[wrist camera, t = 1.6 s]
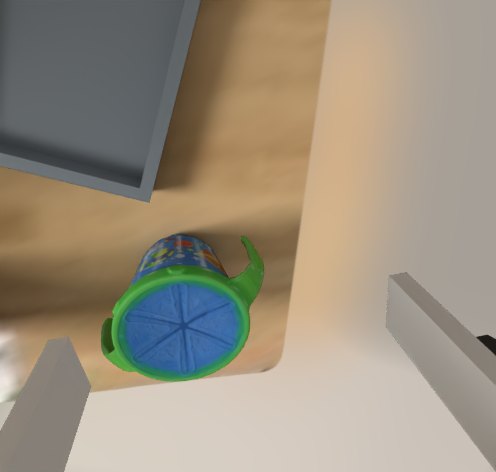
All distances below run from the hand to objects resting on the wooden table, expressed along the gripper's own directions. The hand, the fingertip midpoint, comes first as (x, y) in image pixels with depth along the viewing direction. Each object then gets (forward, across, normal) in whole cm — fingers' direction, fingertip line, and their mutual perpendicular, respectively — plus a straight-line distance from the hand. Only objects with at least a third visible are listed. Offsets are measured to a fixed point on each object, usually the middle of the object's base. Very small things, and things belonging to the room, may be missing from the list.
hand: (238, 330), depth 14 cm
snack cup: (+20, -5, -8) cm, 22 cm away
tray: (+20, -8, +13) cm, 25 cm away
